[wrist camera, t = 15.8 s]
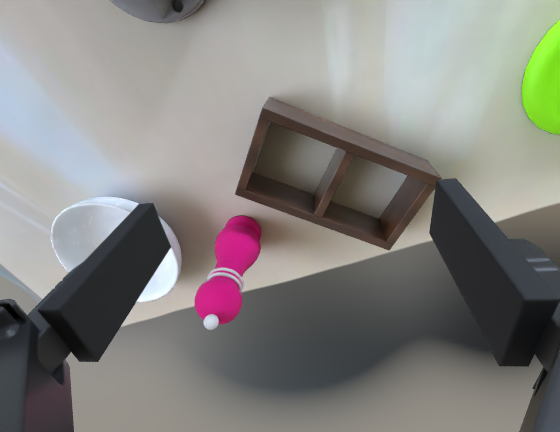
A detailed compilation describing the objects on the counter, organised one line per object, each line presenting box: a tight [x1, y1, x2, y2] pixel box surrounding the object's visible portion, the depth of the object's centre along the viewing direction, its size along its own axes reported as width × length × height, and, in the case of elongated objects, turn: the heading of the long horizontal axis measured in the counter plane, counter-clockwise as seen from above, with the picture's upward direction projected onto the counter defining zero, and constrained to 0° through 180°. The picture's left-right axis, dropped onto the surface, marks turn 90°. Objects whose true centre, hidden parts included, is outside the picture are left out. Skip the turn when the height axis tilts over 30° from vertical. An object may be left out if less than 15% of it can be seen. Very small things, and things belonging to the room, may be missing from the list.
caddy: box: [235, 97, 442, 250], centre depth 43 cm, size 12×24×6 cm, turn 70°
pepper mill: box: [195, 216, 261, 330], centre depth 44 cm, size 7×7×20 cm
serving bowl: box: [51, 197, 182, 302], centre depth 53 cm, size 21×21×7 cm
